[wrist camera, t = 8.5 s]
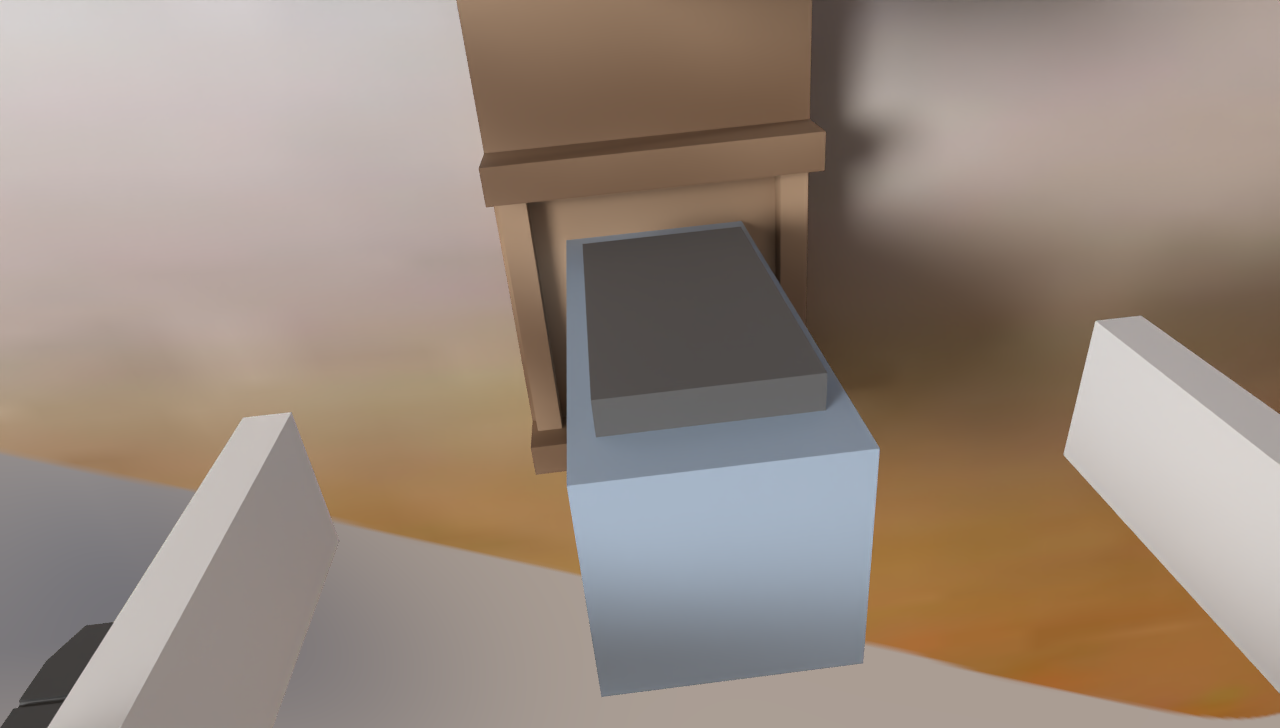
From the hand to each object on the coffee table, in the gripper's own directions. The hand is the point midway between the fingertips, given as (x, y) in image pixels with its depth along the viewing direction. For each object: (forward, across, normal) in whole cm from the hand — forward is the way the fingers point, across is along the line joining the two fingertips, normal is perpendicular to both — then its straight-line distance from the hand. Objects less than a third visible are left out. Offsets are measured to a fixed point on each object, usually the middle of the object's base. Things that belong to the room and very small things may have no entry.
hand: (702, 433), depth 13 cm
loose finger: (+6, 0, -1) cm, 6 cm away
